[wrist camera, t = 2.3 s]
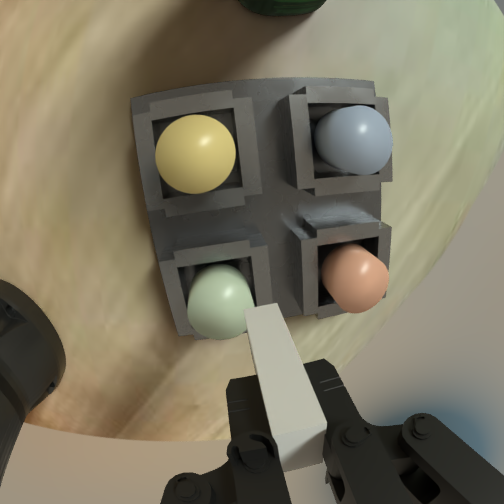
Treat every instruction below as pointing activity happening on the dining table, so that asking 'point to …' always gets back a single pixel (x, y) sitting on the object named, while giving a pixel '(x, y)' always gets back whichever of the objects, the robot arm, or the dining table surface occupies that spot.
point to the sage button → (219, 302)
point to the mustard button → (195, 154)
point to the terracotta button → (354, 277)
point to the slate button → (354, 140)
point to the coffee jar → (282, 6)
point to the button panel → (262, 192)
